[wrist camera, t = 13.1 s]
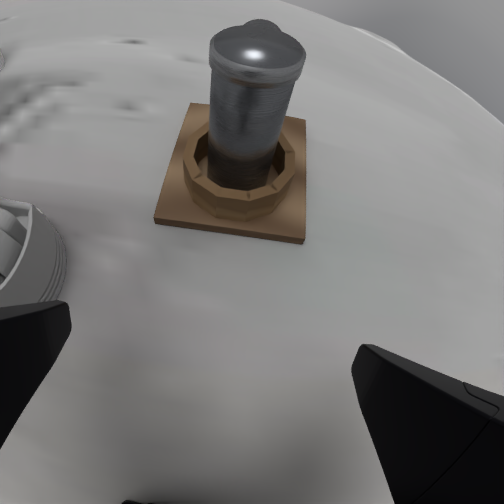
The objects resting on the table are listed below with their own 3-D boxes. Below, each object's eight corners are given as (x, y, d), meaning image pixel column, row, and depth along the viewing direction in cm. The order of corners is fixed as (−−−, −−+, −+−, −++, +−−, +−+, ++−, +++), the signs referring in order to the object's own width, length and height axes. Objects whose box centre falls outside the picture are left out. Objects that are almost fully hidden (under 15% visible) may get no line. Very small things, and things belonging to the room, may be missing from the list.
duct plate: (301, 244, 26) (316, 220, 22) (155, 223, 25) (147, 195, 22) (303, 126, 32) (312, 98, 28) (190, 109, 31) (190, 80, 27)
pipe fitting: (265, 209, 26) (308, 76, 14) (199, 199, 25) (200, 59, 14) (271, 140, 29) (304, 20, 17) (215, 131, 29) (225, 7, 17)
